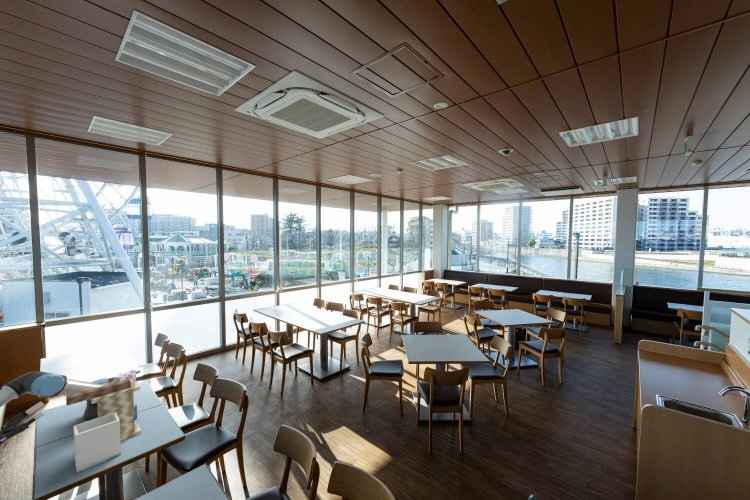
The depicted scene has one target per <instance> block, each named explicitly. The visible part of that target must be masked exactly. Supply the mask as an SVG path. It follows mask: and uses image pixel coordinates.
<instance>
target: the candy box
mask: <svg viewBox="0 0 750 500" xmlns="http://www.w3.org/2000/svg"><path fill="white" fill-rule="evenodd" d="M127 379H130V381H131V383H133V382H137V370H136V369H128V370H126V371H124V372H121V373H119V374H117V375H115V376H112V383H116V382H120V381H124V380H127Z"/></svg>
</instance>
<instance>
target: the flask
mask: <svg viewBox="0 0 750 500" xmlns="http://www.w3.org/2000/svg"><path fill="white" fill-rule="evenodd" d="M137 419H138V405H137V404H136V403H134V422H135V421H136V420H137Z"/></svg>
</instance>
